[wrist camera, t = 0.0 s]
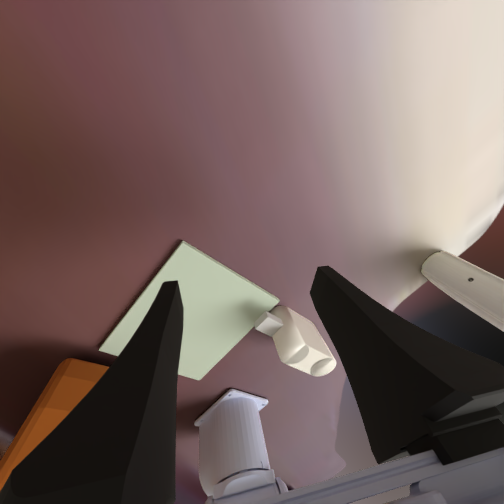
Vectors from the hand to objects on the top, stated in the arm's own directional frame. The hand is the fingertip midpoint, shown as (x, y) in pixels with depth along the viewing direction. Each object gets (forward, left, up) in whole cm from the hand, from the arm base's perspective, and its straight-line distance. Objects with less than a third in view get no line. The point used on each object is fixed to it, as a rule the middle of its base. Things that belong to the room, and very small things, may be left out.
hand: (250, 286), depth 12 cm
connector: (-6, -14, -11) cm, 19 cm away
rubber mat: (-12, -4, -11) cm, 17 cm away
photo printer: (+12, -28, -11) cm, 33 cm away
